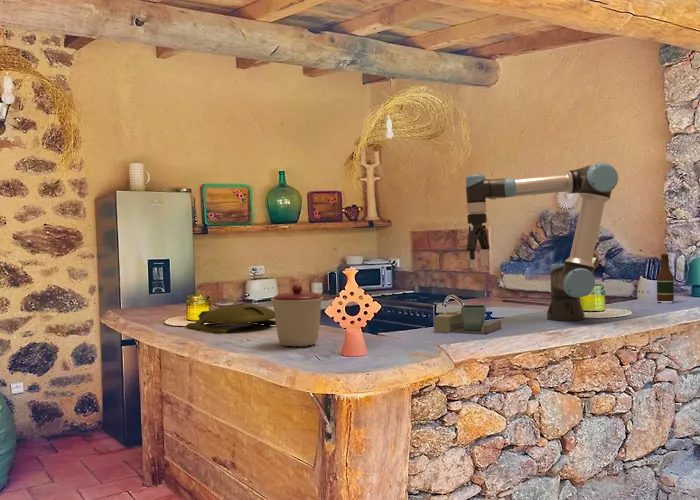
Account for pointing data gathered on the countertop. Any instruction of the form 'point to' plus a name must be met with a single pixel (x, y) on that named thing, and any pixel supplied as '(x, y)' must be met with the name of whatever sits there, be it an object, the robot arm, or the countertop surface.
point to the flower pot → (473, 316)
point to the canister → (297, 317)
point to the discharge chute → (486, 329)
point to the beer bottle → (665, 281)
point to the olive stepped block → (446, 321)
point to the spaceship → (233, 317)
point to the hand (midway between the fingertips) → (479, 266)
